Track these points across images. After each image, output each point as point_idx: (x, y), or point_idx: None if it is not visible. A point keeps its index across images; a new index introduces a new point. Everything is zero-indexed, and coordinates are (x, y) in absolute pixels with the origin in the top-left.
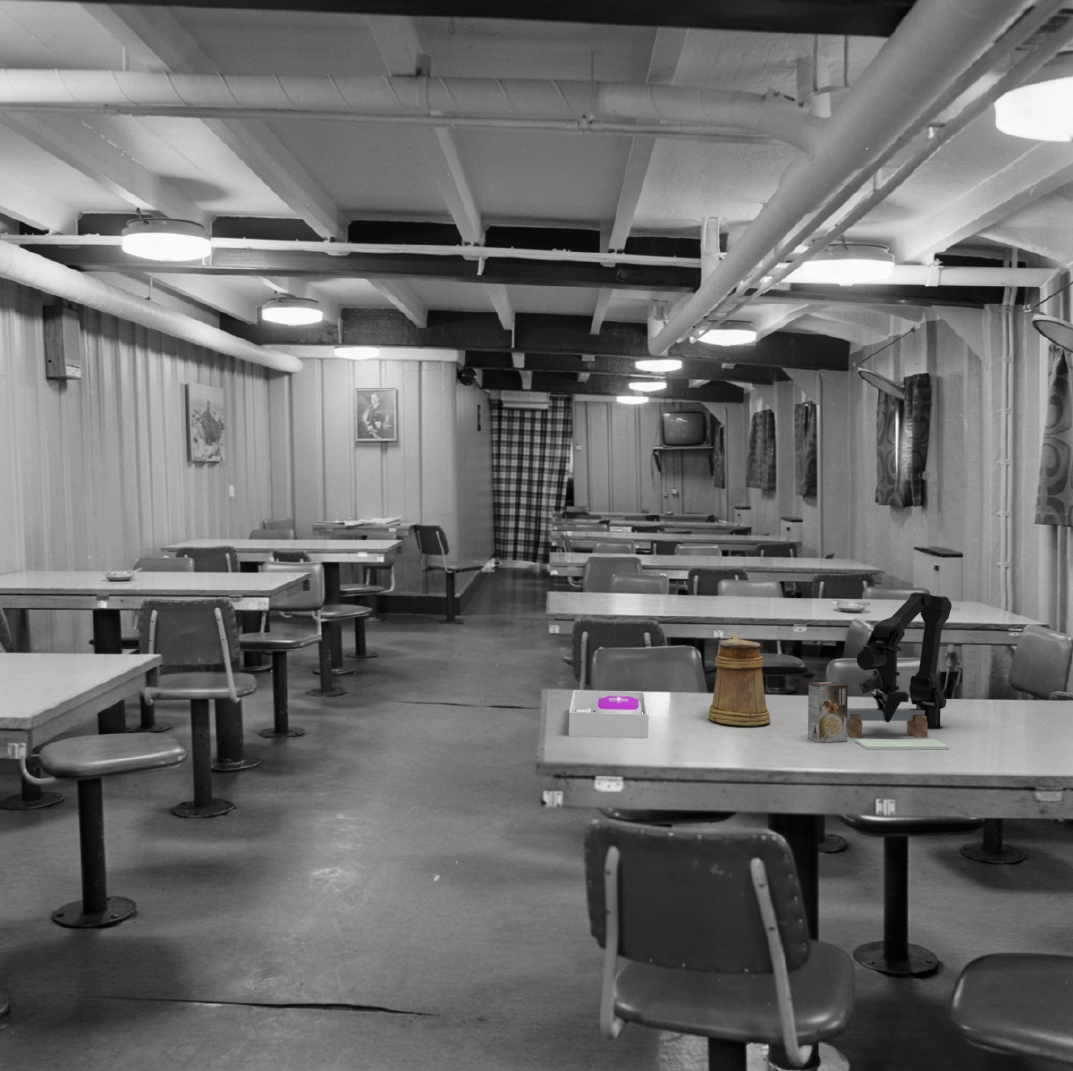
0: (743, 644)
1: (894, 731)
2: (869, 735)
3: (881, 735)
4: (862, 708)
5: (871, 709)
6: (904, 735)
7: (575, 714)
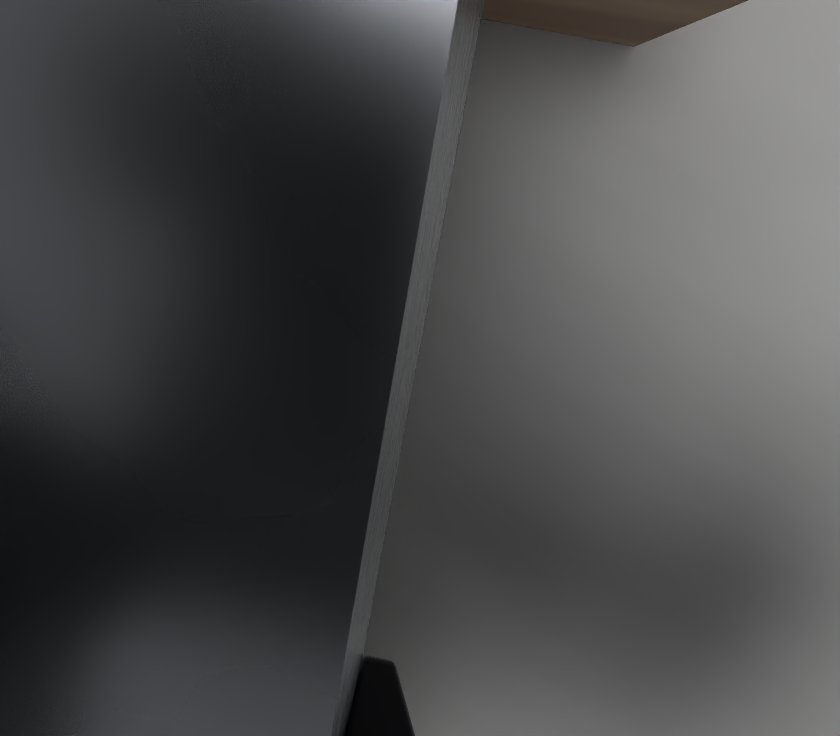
0: None
1: (524, 730)
2: None
3: None
4: (359, 226)
5: (73, 538)
6: None
7: None
